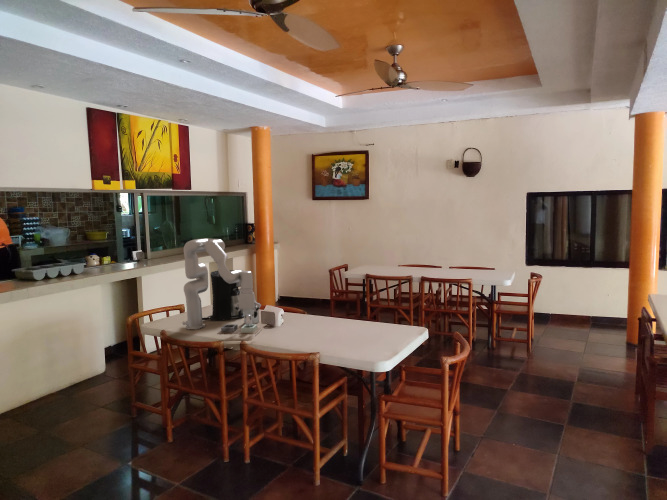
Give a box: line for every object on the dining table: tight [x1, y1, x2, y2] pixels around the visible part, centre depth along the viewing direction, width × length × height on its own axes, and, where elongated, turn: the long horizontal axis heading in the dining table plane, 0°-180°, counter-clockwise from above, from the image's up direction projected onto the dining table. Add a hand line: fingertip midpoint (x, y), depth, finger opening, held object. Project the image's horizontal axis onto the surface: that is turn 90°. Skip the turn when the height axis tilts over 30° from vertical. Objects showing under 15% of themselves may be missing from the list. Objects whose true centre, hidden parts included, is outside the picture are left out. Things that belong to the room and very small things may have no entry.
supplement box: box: [243, 305, 260, 324], centre depth 317 cm, size 7×7×13 cm
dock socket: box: [240, 323, 258, 333], centre depth 297 cm, size 8×8×3 cm
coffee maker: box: [202, 269, 244, 322], centre depth 336 cm, size 23×32×34 cm
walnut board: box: [216, 323, 262, 335], centre depth 298 cm, size 25×14×4 cm, turn 83°
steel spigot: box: [244, 315, 252, 327], centre depth 297 cm, size 4×4×10 cm
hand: (247, 317), depth 296 cm, fingers open, 9 cm apart
